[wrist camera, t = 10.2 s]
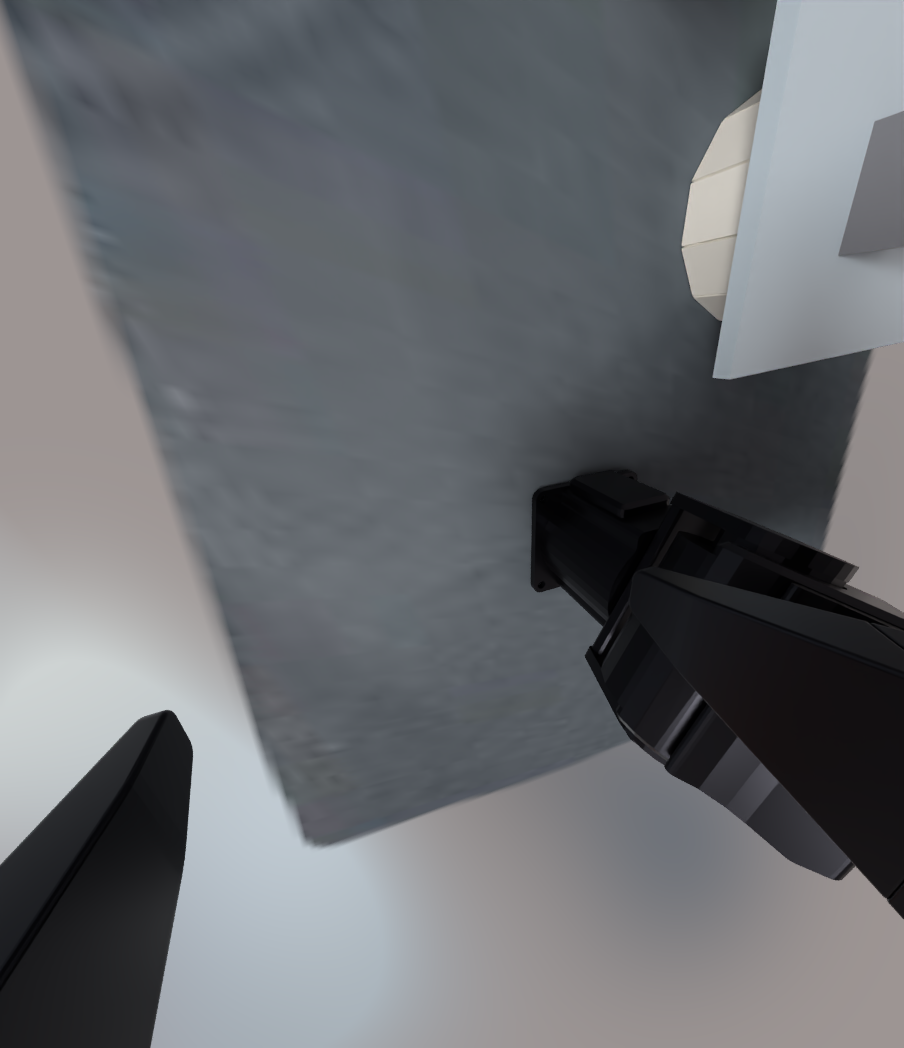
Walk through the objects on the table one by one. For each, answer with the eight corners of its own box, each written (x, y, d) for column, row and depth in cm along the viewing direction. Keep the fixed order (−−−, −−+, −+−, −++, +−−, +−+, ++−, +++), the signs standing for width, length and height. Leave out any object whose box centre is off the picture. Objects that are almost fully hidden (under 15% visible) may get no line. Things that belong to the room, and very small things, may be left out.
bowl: (796, 313, 23) (885, 309, 19) (669, 326, 20) (744, 324, 17) (856, 94, 19) (982, 41, 15) (706, 78, 16) (815, 10, 13)
